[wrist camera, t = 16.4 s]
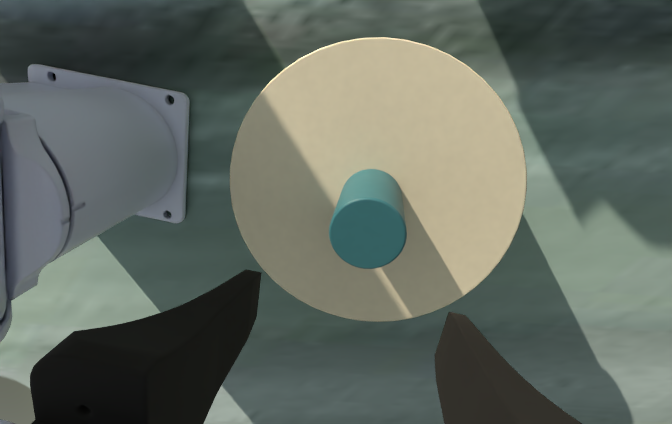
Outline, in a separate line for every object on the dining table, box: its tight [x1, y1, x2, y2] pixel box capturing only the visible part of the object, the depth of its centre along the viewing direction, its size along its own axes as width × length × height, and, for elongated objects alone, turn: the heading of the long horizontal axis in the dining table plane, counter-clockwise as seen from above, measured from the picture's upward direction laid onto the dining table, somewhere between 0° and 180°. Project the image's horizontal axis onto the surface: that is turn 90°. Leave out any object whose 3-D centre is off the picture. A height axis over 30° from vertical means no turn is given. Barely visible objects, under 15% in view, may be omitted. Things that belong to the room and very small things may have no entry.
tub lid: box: [230, 37, 527, 322], centre depth 15 cm, size 13×13×5 cm
